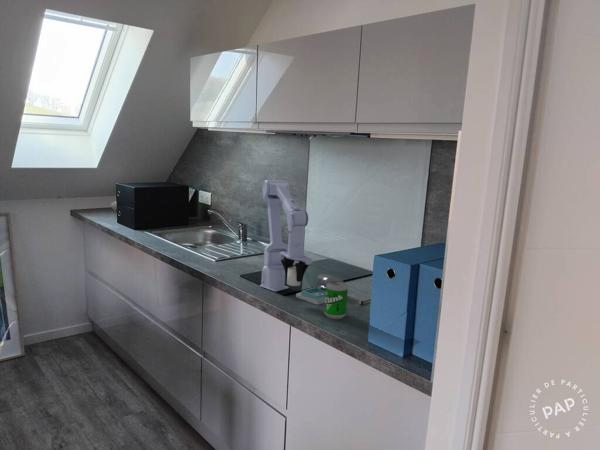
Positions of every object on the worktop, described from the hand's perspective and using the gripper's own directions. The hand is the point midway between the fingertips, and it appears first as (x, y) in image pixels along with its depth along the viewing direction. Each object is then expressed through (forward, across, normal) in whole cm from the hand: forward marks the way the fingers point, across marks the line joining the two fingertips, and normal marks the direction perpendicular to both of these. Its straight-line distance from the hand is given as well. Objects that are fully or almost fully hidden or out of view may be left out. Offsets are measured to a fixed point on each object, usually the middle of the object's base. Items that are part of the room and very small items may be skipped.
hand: (294, 279), depth 169 cm
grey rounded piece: (+2, 0, 0) cm, 2 cm away
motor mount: (+9, +2, +14) cm, 17 cm away
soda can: (+9, +19, +2) cm, 21 cm away
